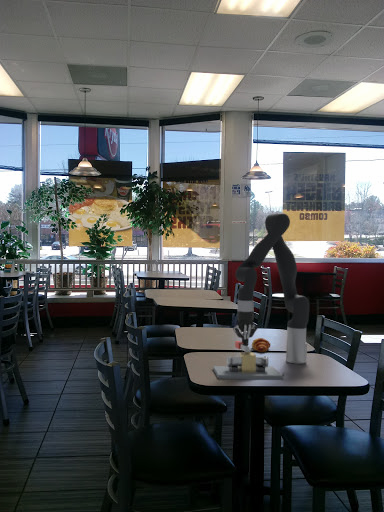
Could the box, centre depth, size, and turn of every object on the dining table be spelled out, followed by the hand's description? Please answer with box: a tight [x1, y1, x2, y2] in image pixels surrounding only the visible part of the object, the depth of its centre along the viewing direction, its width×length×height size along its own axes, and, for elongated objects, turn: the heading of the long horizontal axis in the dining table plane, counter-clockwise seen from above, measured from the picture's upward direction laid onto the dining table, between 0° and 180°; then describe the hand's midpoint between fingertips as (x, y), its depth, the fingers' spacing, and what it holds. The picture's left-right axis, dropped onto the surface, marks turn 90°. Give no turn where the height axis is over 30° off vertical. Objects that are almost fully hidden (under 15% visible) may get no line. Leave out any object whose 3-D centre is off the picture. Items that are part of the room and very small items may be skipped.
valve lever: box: [234, 340, 252, 354], centre depth 207 cm, size 14×3×3 cm, turn 16°
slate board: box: [212, 365, 284, 380], centre depth 202 cm, size 28×15×2 cm, turn 96°
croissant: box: [251, 337, 271, 353], centre depth 255 cm, size 21×10×8 cm, turn 176°
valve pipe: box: [226, 351, 269, 373], centre depth 202 cm, size 18×6×8 cm, turn 96°
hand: (245, 346), depth 213 cm, fingers closed
